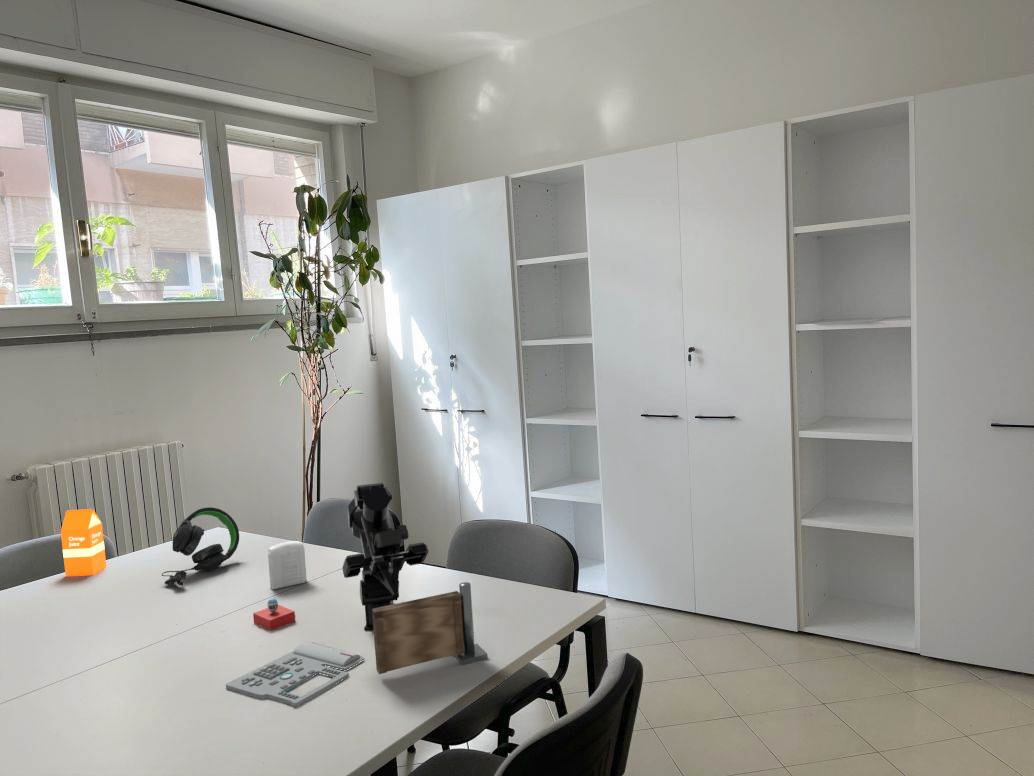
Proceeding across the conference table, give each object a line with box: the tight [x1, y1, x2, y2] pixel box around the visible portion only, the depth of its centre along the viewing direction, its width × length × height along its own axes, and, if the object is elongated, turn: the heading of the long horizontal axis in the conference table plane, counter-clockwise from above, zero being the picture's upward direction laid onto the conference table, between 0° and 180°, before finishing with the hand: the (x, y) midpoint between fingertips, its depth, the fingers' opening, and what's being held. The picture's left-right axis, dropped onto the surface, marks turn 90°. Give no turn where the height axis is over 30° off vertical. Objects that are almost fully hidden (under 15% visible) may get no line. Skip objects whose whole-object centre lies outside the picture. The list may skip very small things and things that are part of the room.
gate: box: [372, 590, 464, 675], centre depth 160 cm, size 18×2×13 cm, turn 115°
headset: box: [161, 506, 240, 587], centre depth 233 cm, size 18×14×29 cm
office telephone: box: [225, 641, 365, 708], centre depth 161 cm, size 23×3×20 cm
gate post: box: [452, 581, 489, 666], centre depth 164 cm, size 6×6×16 cm
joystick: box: [252, 597, 296, 632], centre depth 190 cm, size 8×7×6 cm
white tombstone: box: [267, 540, 308, 590], centre depth 218 cm, size 10×4×12 cm, turn 123°
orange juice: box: [60, 508, 107, 577], centre depth 241 cm, size 8×9×20 cm
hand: (395, 594), depth 168 cm, fingers closed
